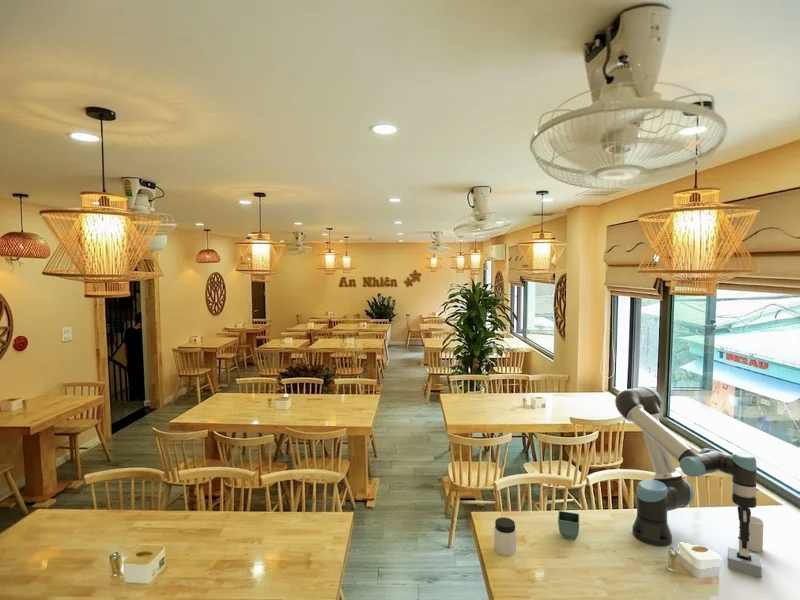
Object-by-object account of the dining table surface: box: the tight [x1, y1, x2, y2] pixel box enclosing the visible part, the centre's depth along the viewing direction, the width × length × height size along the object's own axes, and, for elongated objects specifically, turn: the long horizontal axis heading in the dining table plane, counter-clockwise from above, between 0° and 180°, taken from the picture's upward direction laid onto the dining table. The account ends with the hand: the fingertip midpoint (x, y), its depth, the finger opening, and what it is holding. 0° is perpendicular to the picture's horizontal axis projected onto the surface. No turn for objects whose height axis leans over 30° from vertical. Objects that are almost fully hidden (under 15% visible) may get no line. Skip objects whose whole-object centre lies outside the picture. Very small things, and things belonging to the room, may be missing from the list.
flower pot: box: [557, 510, 580, 541], centre depth 195 cm, size 9×9×9 cm
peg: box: [738, 531, 749, 561], centre depth 173 cm, size 3×3×12 cm
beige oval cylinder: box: [749, 515, 764, 553], centre depth 187 cm, size 10×7×12 cm, turn 172°
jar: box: [493, 517, 517, 557], centre depth 185 cm, size 9×8×12 cm
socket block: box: [727, 546, 762, 578], centre depth 173 cm, size 10×9×4 cm
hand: (743, 553), depth 173 cm, fingers closed on peg, 3 cm apart
